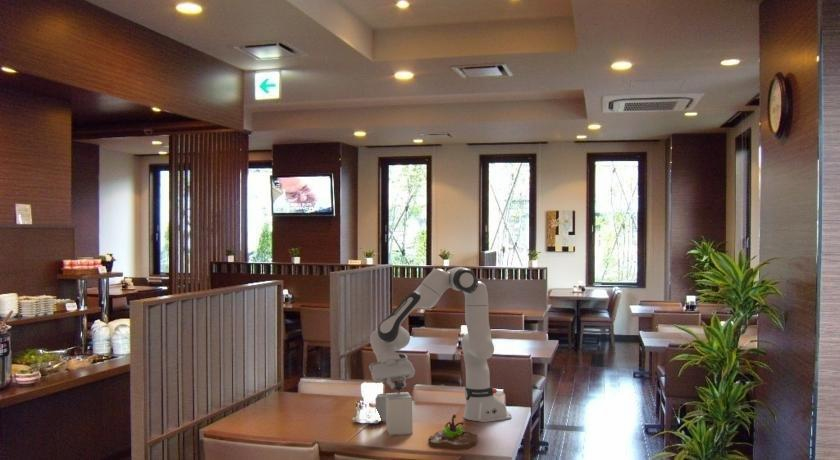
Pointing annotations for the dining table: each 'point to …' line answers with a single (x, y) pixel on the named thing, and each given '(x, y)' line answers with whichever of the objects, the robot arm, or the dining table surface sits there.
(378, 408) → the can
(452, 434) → the plant
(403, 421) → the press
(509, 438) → the dining table surface
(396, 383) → the plunger
